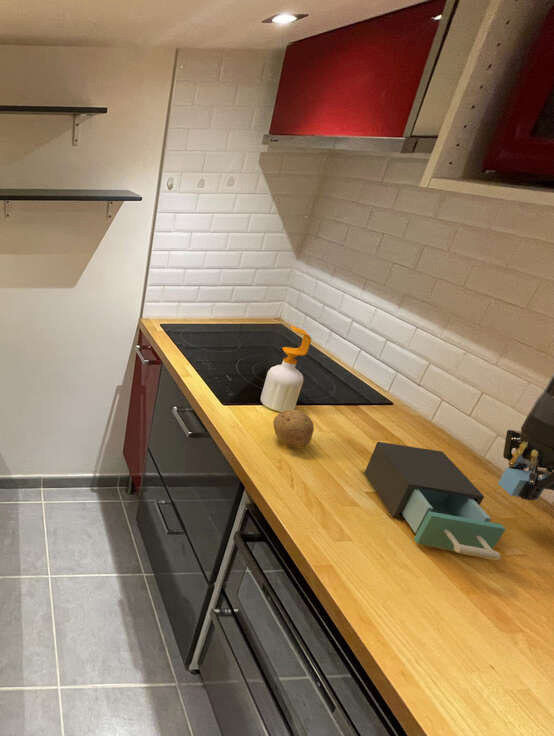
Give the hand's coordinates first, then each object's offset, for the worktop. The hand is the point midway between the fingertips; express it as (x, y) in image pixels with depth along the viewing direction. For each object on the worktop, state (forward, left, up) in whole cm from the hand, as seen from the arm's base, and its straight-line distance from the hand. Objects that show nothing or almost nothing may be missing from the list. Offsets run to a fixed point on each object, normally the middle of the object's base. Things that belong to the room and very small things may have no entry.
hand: (517, 490), depth 88 cm
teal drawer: (+14, +8, -8) cm, 18 cm away
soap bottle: (+33, -37, -9) cm, 50 cm away
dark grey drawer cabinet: (+14, -3, -9) cm, 17 cm away
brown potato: (+35, -17, -9) cm, 40 cm away
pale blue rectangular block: (0, 0, 0) cm, 0 cm away
